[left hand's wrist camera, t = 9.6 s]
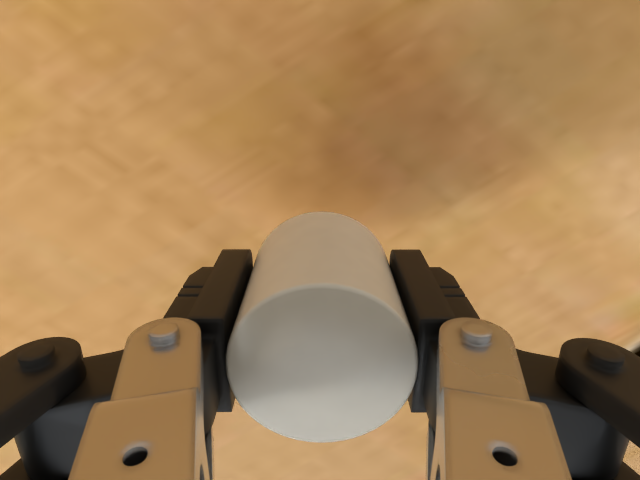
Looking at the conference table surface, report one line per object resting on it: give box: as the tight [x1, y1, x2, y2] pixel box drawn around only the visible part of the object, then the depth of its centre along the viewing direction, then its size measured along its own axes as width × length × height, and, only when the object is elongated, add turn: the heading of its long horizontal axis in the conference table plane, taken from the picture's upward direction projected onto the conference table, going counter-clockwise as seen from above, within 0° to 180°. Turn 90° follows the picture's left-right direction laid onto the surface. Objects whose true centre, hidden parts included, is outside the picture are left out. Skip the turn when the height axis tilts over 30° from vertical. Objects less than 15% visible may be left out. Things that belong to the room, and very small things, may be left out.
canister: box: [226, 212, 418, 442], centre depth 10 cm, size 4×4×4 cm
